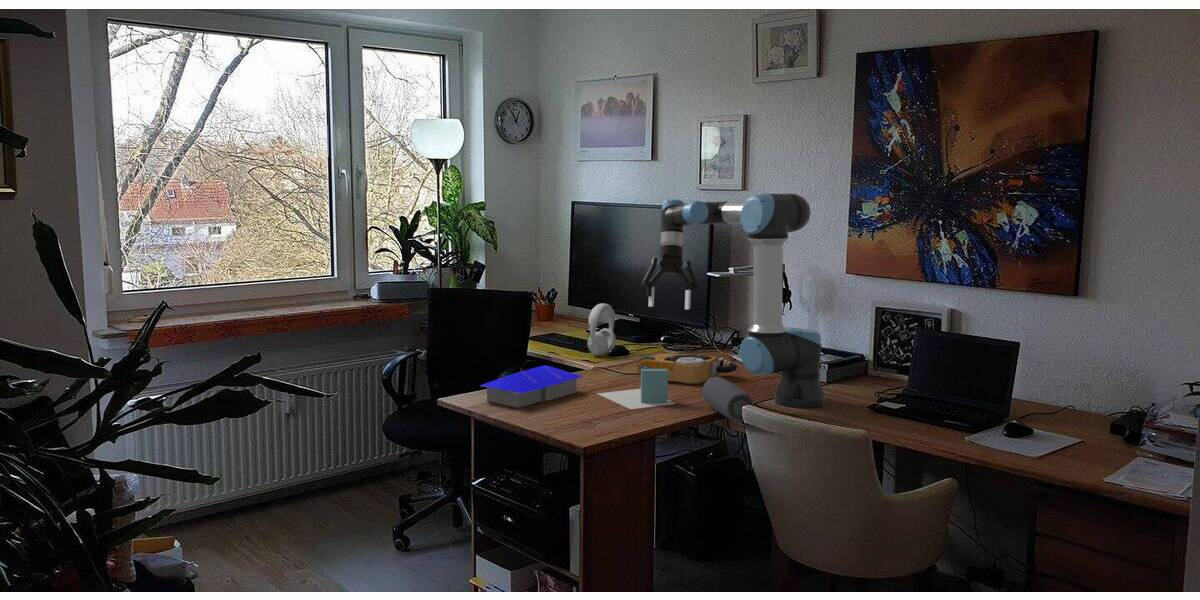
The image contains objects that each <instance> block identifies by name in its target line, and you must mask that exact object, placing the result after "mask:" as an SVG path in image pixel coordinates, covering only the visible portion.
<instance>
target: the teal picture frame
mask: <svg viewBox="0 0 1200 600" xmlns="http://www.w3.org/2000/svg"><path fill="white" fill-rule="evenodd" d="M668 386H669V381H668V370H667V369H641V376H640V389H641V403H667V400H669V399H668V396H669V395H668V393H669V392H668V391H669V390H668V388H669V387H668Z"/></svg>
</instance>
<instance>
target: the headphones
mask: <svg viewBox="0 0 1200 600" xmlns="http://www.w3.org/2000/svg"><path fill="white" fill-rule="evenodd" d="M603 312H604V315H605V317H606V319H607V321H608V328H605V327H604V328H601V329H600V330H599V331H597V326H598V324H599V320H600V318H601V315H602V313H603ZM615 319H616V313H615V311H614V309H613V307H612V305H610V304H608V303H598V304H596V305H595V306H594V307H593V308H592V310H591V311H590V313H589V316H588V326H589V329H590V330H589V332H590V335H589V337H588V338H587V342H586V343H587V348H588V350H589V351H590V352H591V354H593V356H596V355H598V356H597V357H603V356H604V355H605V353H606V354H608V353H607V352H609V353H611V352H612V351H613V350H612V349H615V346H616V343H617V339H616V334H615V333H614V327H615ZM611 350H612V351H611ZM610 351H611V352H610Z"/></svg>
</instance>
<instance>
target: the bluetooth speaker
mask: <svg viewBox="0 0 1200 600" xmlns="http://www.w3.org/2000/svg"><path fill="white" fill-rule="evenodd" d="M701 391H702V397H703V398H704V399H705V401H706V402H707V403H708V404H709V405H710V406H711V407H712V408H713V409H714V410H716V412H718V414H720V415H721V416H722V417H725V419H726V420H727V421H731V422H732V421H733V422H737V423H740V422H741V423H742V422H744V421H743V417H742V407H743V406H746V405H752V406H755V403H754V400H753V398H752V397H751V396H750V394H748V393H747V392H745V390H743V389H742V388H740V387H739V386H737V385H736V384H734V383H733V382H731V381H729V380H727V379H725V378H723V377H719V376H715V377H712V378H709V379H708V380H705V381H704V384H703V386H702V390H701Z"/></svg>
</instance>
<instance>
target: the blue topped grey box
mask: <svg viewBox="0 0 1200 600" xmlns="http://www.w3.org/2000/svg"><path fill="white" fill-rule="evenodd" d="M582 378H584V376H583V375H579V374H575V373H573V372H570V371H566V370H562V369H559V368H556V367H553V366H550V365H546V364H545V365H541V366H536V367H533V368H529V369H528V368H527V369H526V370H521V371H518V372H515V373H512V374H509V375H507V376H506V375H505V376H503V377H499V378H498V379H494V380H491V381H488V382H485V383H483V384H480V386H479V387H484V388H486V402H488V403H492V402H494V403H493V404H497V403H499V404H498V405H501V404H504V405H503V406H506V405H509V406H508V407H511V406H514V407H513V408H516V407H521V406H524V407H526V406H525V405H527V406H530V405H529V404H531V405H533V404H532V403H534V404H537V403H536V402H538V403H540V402H539V401H541V402H545V401H546V402H548V401H547V400H549V401H552V400H555V399H554V398H556V399H559V398H562V397H566V396H569V395H572V394H575V393H577V391H578V390H577V388H578V387H577V382H578V381H577V380H578V379H582ZM568 394H569V395H568ZM565 395H566V396H565ZM561 396H562V397H561ZM558 397H559V398H558ZM551 399H552V400H551ZM521 408H522V407H521Z"/></svg>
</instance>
